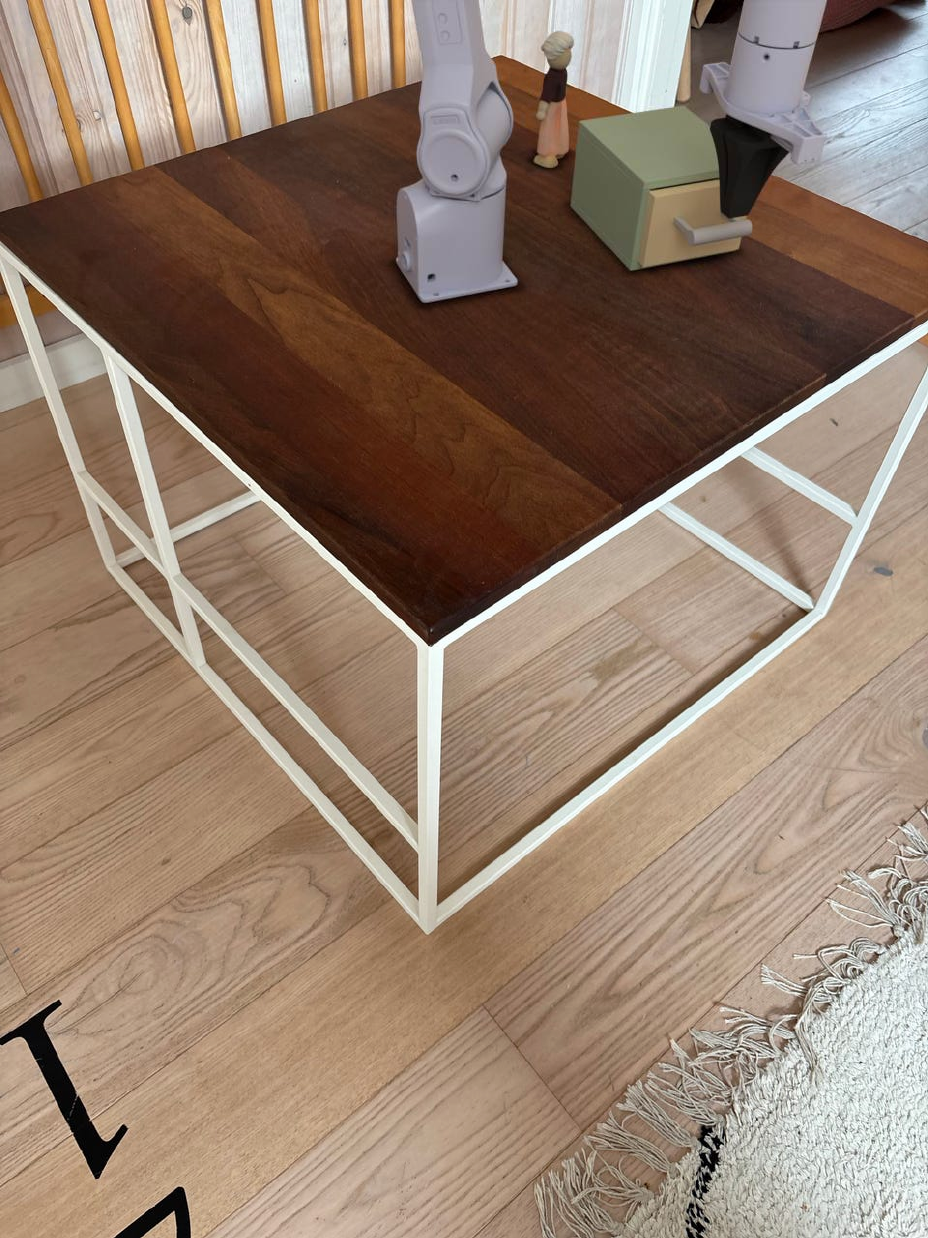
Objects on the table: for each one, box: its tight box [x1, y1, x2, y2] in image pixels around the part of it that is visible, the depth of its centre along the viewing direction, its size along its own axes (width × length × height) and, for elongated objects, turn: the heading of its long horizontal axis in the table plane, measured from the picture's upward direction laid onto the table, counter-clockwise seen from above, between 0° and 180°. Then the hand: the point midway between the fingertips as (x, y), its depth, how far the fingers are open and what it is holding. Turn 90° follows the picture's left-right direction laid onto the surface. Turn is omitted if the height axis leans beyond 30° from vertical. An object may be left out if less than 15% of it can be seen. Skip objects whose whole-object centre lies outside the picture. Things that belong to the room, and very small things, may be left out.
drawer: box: [638, 178, 753, 268], centre depth 95 cm, size 17×10×7 cm, turn 21°
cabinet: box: [570, 105, 736, 272], centre depth 97 cm, size 14×12×9 cm
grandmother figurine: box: [533, 30, 575, 169], centre depth 106 cm, size 8×4×13 cm, turn 168°
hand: (734, 213), depth 83 cm, fingers closed
